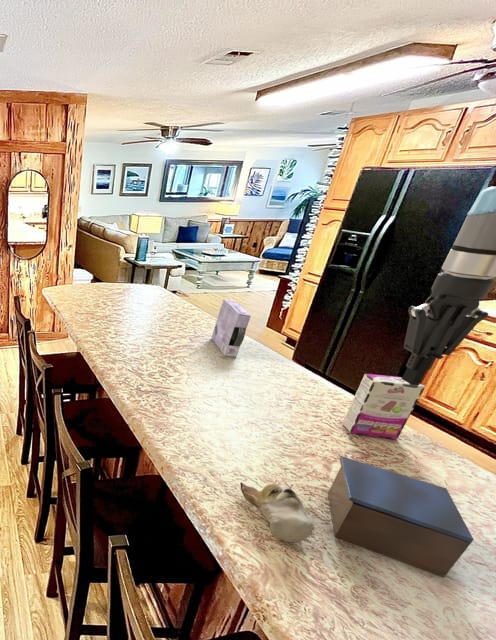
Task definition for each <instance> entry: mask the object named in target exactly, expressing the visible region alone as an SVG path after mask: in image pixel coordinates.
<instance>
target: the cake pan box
mask: <svg viewBox="0 0 496 640" xmlns="http://www.w3.org/2000/svg"><path fill="white" fill-rule="evenodd" d="M250 320H251V314H250V313H249V312H248V311H246V310H245V309H244V308H243V307H242V306H241V305H240V304H239V303H238V302H237V301H236V300H235V299H225V298H224V299H223V300H222V302H221V305H220V309H219V312H218V315H217V318H216V322H215V326H214V327H213V331H212V334H211V339H210V340H212V341H213V342H214V344H215V346H216V347H217V348H218V350H219V351H220V352H221V354H223V356H224V357H227V358H237V356H238V353H239V351H240V348H241V345H242V344H243V342H244V339H245V336H246V332H247V328H248V326H249V323H250Z"/></svg>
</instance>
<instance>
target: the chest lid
mask: <svg viewBox="0 0 496 640" xmlns="http://www.w3.org/2000/svg"><path fill="white" fill-rule="evenodd" d="M339 462H340V468H341V467H342V472H343V477H344V481H345V486H346V490H347V495H348V500H350V501H352V502H355V503H358V504H361V505H364V506H367V507H370V508H373V509H375V510H378V511H381V512H384V513H387V514H390V515H393V516H396V517H398V518H401V519H404V520H407V521H410V522H413V523H416V524H419V525H421V526H424V527H427V528H430V529H433V530H436V531H439V532H442V533H444V534H447V535H450V536H453V537H456V538H459V539H462V540H465V541H467V542H470V543H473V542H474V540H475V539H474V537H473V535H472V533H471V532H470V530H469V528H468V526H467V524H466V522H465V521H464V519H463V517H462V515H461V513H460V511H459V509H458V508H457V505H456V504H455V502H454V500H453V497H452V496H451V494H450V493H449V490H448V489H447V487H444V486H440V485H436V484H434V483H430V482H427V481H424V480H421V479H418V478H414V477H412V476H411V477H410V476H409V475H405V474H402V473H398V472H395V471H392V470H388V469H385V468H382V467H378V466H376V465H372V464H369V463H366V462H362V461H358V460H356V459H352V458H350V457H346V456H343V455H341V456H340V457H339Z"/></svg>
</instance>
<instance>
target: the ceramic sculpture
mask: <svg viewBox="0 0 496 640" xmlns="http://www.w3.org/2000/svg"><path fill="white" fill-rule="evenodd" d="M239 483H240V485H239V486H240V490H241V493H242V495H243V497H244V499H245V500H246V501H247V503H249V504H251V505H252V506H254V508H256V509H257V510H259V511H260V512H261V513H262V515H263V516H264V517H265V518H266V520H267V521H268V522H269V531H270V532H271V534H272V536H273V537H275V538H276V539H279V540H281V541H284V542H286V543H294V542H301V541H304V540H306V539H308V538H309V537H310V536H311V534H312V532H313V531H314V530H315V527H314V523H313V521H312V520H311V519H310V518H308V517H307V513H306V511H305V507H304V505H303V502H301V499H300V498H299V497H298V494H297V493H296V492H295V491H294V490H293V489H292V488H290V487H289V486H287V485H283V484H279V483H278V484H277V483H271V484H267V485H264V487H263V488H262V489H261V490H258V489H257V488H255V487H252V486H248V485H246V484H245V483H243V482H242V481H240V482H239Z"/></svg>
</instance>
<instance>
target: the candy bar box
mask: <svg viewBox="0 0 496 640" xmlns="http://www.w3.org/2000/svg"><path fill="white" fill-rule="evenodd" d="M402 377H403V376H402ZM402 377H401V376H394V375H393V376H392V375H383V374H382V375H381V374H373V373H364V375H363V377H362V379H361V381H360V383H359V386H358V388H357V390H356V392H355V395H354V398H353V399H352V401H351V403H350V406H349V408H348V411H347V412H346V415H345V417H344V419H343V421H342V426H343V427H344V428H345V430H347V431H348V432H349V433H350V434H351V435H352V434H353V435H359V436H367V437H374V438H375V437H376V438H381V439H382V438H383V439H391V440H398V438H399V437H400V435H401V433H402V431H403V429H404V428H405V425H406V424H407V421H408V420H409V418H410V416H411V414H412V412H413V410H415V409H414V408H415V407H416V405H417V404H418V401H419V399H420V397H421V396H422V393H423V392H424V390H425V388H426V386H425V385H423V384H422V383H420V384H419V385H411V384H409V383H408V382H406V381H404V380H403V379H402Z"/></svg>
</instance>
